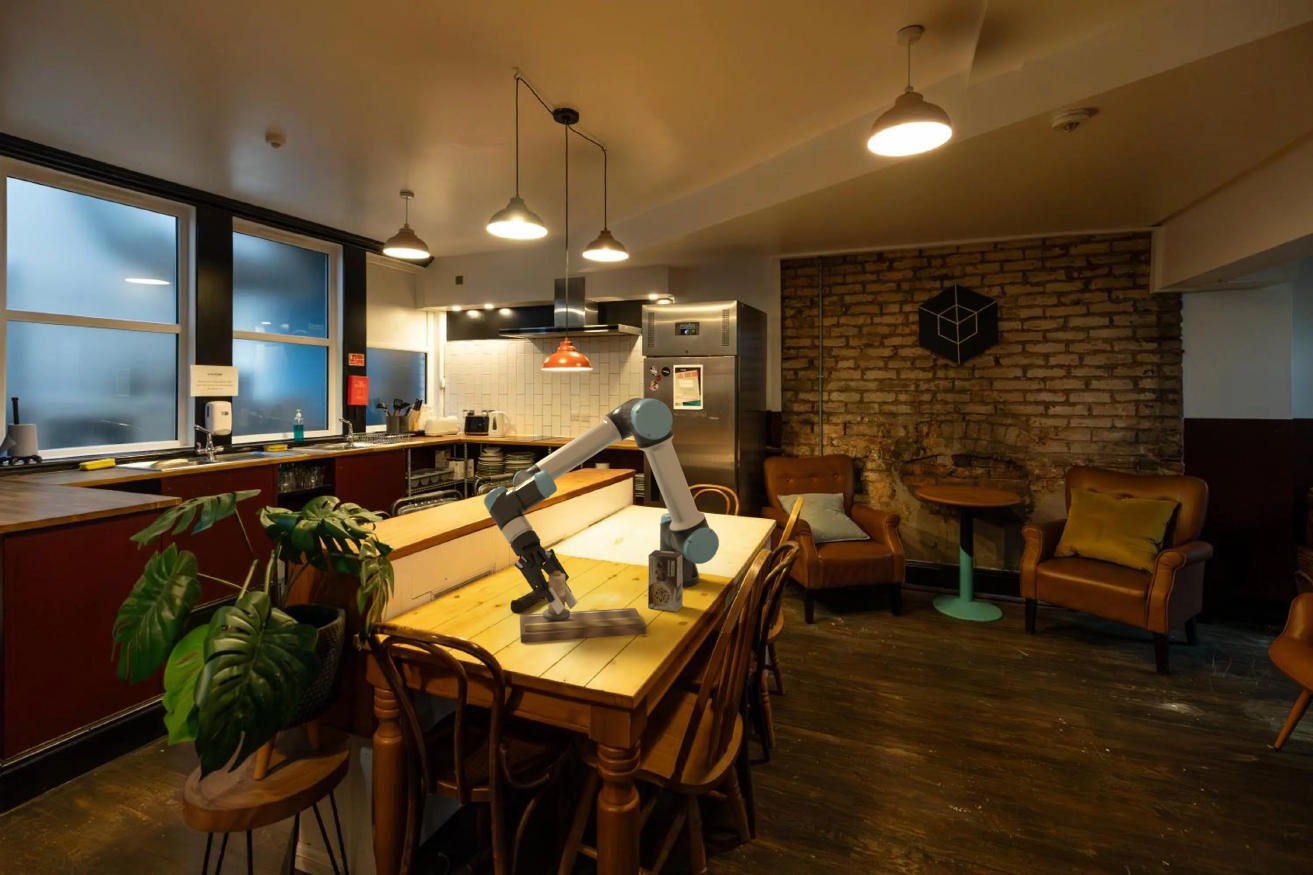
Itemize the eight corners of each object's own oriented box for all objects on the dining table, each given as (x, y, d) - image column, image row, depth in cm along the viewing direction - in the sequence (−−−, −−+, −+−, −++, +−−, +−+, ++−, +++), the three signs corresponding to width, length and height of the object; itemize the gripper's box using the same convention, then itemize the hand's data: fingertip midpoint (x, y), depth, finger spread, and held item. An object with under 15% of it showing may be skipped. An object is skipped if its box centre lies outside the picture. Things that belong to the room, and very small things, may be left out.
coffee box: (683, 605, 184) (684, 552, 183) (676, 612, 178) (678, 557, 177) (654, 601, 187) (655, 548, 186) (646, 608, 181) (648, 554, 180)
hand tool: (521, 614, 174) (521, 598, 174) (509, 612, 176) (510, 596, 175) (557, 595, 192) (558, 581, 191) (547, 593, 193) (547, 579, 193)
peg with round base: (568, 610, 168) (569, 567, 167) (571, 619, 161) (571, 574, 161) (542, 612, 167) (542, 568, 166) (543, 621, 160) (544, 575, 159)
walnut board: (635, 614, 175) (635, 602, 175) (645, 633, 162) (646, 620, 162) (519, 621, 168) (519, 609, 168) (520, 642, 154) (520, 628, 154)
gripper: (536, 539, 178) (580, 606, 171) (490, 551, 163) (537, 626, 156) (550, 523, 175) (596, 591, 168) (505, 534, 160) (553, 610, 153)
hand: (567, 608), depth 162 cm, fingers closed on peg with round base, 4 cm apart
